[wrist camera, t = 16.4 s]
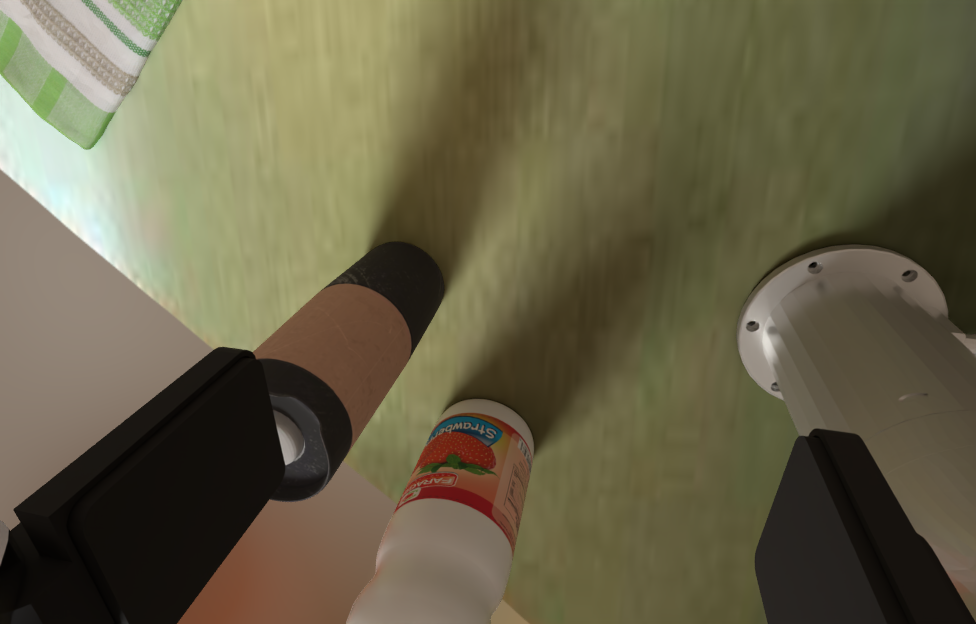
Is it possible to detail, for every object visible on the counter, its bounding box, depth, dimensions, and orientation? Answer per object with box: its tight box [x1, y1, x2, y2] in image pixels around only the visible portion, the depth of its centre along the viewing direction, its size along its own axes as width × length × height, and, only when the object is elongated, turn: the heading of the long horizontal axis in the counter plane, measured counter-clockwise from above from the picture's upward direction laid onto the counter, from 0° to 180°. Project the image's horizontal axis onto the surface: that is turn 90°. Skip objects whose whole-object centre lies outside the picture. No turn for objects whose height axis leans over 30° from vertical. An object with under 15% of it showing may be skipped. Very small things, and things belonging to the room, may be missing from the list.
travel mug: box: [253, 242, 444, 502], centre depth 35 cm, size 8×8×20 cm
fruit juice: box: [346, 399, 534, 624], centre depth 38 cm, size 9×9×28 cm
